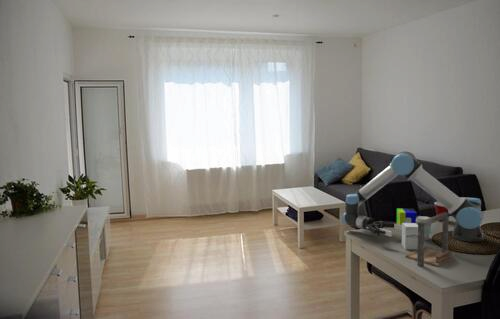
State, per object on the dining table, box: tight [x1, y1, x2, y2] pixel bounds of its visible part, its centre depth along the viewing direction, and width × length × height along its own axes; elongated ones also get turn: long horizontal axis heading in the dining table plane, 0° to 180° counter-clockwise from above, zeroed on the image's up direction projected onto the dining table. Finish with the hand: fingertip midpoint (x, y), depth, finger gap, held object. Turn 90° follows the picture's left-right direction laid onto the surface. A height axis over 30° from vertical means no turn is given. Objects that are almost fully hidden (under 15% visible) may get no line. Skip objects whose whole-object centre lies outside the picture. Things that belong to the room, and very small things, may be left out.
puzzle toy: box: [396, 207, 418, 225], centre depth 231 cm, size 10×10×10 cm
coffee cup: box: [416, 215, 432, 241], centre depth 208 cm, size 8×8×12 cm
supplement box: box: [401, 223, 418, 250], centre depth 195 cm, size 7×7×13 cm
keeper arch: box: [405, 212, 454, 268], centre depth 180 cm, size 16×26×21 cm, turn 127°
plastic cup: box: [433, 201, 449, 223], centre depth 237 cm, size 11×11×12 cm
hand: (398, 231), depth 200 cm, fingers open, 13 cm apart
